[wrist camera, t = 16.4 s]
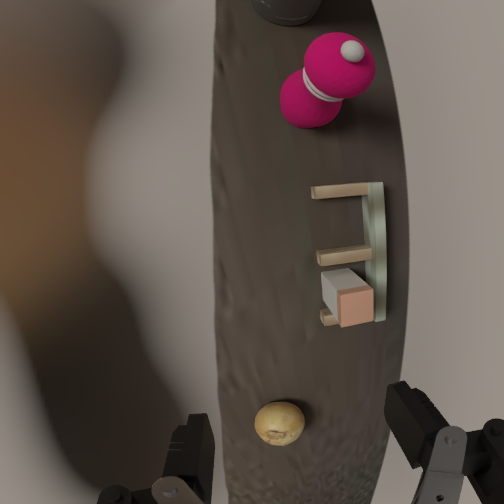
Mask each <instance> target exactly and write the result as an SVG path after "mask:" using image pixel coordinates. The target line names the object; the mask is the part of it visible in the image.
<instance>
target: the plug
mask: <svg viewBox="0 0 504 504" xmlns="http://www.w3.org/2000/svg"><path fill="white" fill-rule="evenodd" d="M321 279H322V292H323V300H324V302H325V303H326V305H327V306H328V308H329V309H330V311H331V312H332V314H333V315H334V317H335V318H336V320H337V321H338V323H339V324H340V326H341V327H346V326H351V325H356V324H360V323H365V322H370V321H373V288H371V287H370V286H369V285H368V284H367V283H366V282H364V281H363V280H362V279H361V278H360V277H359V276H357V275H356V274H355V273H354V272H353V271H352V270H350V269H349V268H345V269H339V270H333V271H327V272H321Z"/></svg>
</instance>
